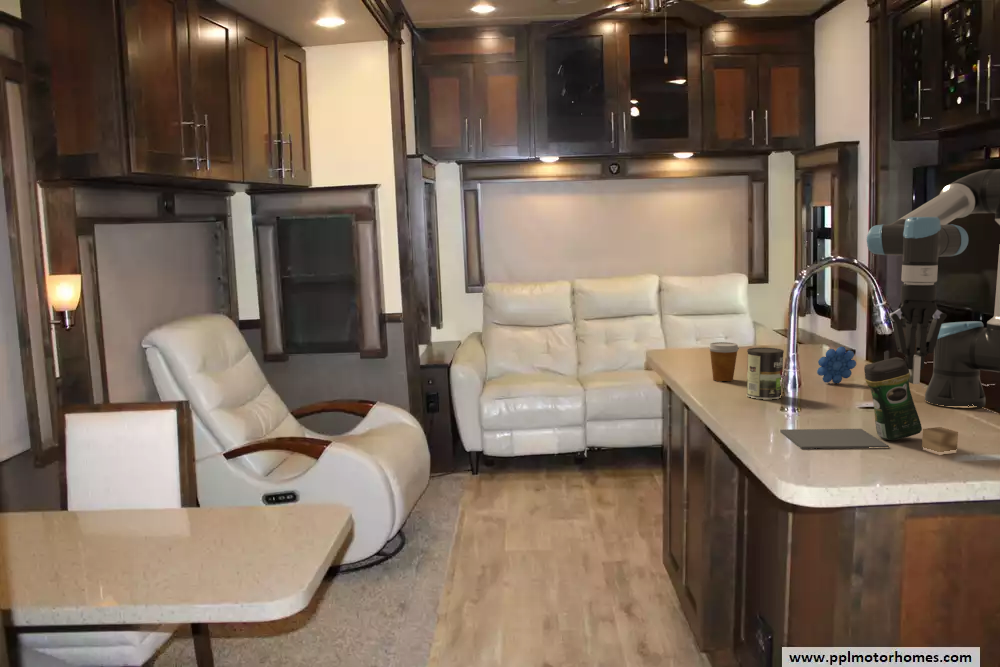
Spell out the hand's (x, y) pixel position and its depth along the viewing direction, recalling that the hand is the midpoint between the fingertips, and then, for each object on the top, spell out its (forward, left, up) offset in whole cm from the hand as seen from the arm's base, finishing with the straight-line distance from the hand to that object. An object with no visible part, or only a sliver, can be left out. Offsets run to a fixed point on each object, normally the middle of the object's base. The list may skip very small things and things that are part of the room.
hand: (913, 382), depth 203 cm
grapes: (-8, -69, -14) cm, 71 cm away
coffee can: (+20, -50, -14) cm, 56 cm away
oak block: (-2, +11, -14) cm, 18 cm away
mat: (+18, 0, -14) cm, 23 cm away
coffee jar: (+3, 0, -13) cm, 13 cm away
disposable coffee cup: (+26, -76, -14) cm, 82 cm away
